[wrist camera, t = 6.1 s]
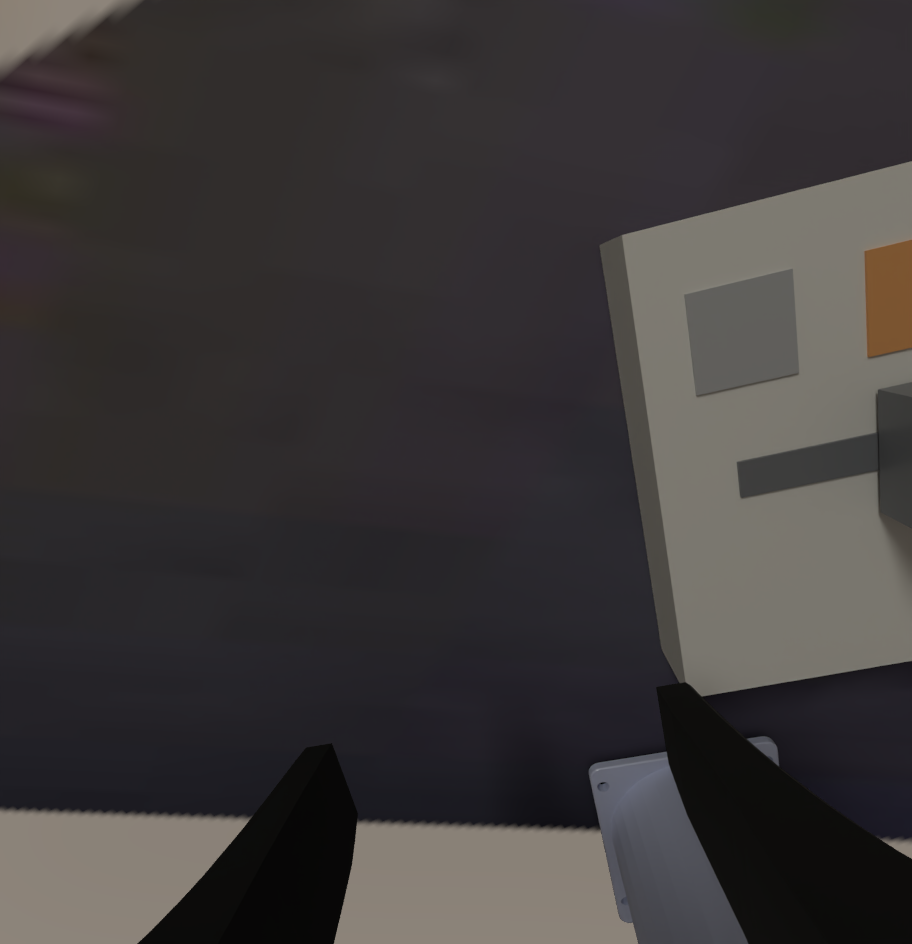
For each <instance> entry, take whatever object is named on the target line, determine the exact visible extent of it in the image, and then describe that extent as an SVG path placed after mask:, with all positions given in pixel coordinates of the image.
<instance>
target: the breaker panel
mask: <svg viewBox="0 0 912 944" xmlns="http://www.w3.org/2000/svg"><path fill="white" fill-rule="evenodd" d="M599 246H600V252H601V259H602V265H603V272H604V278H605V285H606V291H607V298H608V304H609V311H610V317H611V324H612V330H613V337H614V343H615V350H616V356H617V363H618V369H619V376H620V382H621V389H622V395H623V402H624V408H625V415H626V421H627V428H628V434H629V441H630V447H631V454H632V460H633V467H634V473H635V480H636V486H637V493H638V499H639V506H640V512H641V519H642V525H643V532H644V538H645V545H646V551H647V558H648V564H649V571H650V577H651V584H652V590H653V596H654V603H655V609H656V616H657V622H658V629H659V635H660V642H661V648H662V651H663V653H664V655H665V657H666V658H667V660H668V662H669V664H670V666H671V668H672V670H673V672H674V673H675V675H676V677H677V679H678V681H679V683H684V682H686V683H688V684H689V685H691V686H692V687H693V688H694V689H695V690H696V691H697V692H698V693H699V694H700V695H701V696H707V695H713V694H719V693H725V692H731V691H737V690H743V689H749V688H755V687H760V686H766V685H772V684H778V683H784V682H790V681H796V680H802V679H807V678H813V677H819V676H825V675H831V674H837V673H843V672H849V671H855V670H860V669H866V668H872V667H878V666H884V665H890V664H896V663H902V662H907V661H912V528H910V527H908V526H906V525H904V524H902V523H900V522H898V521H896V520H894V519H893V518H891V517H889V516H887V515H885V514H883V513H881V512H880V469H879V424H878V389H882V388H887V387H891V386H896V385H901V384H905V383H910V382H912V161H911V162H908V163H904V164H900V165H896V166H892V167H888V168H884V169H880V170H876V171H872V172H868V173H864V174H860V175H856V176H853V177H849V178H845V179H841V180H837V181H833V182H829V183H825V184H821V185H817V186H813V187H809V188H805V189H802V190H798V191H794V192H790V193H786V194H782V195H778V196H774V197H770V198H766V199H762V200H758V201H754V202H751V203H747V204H743V205H739V206H735V207H731V208H727V209H723V210H719V211H715V212H711V213H707V214H703V215H699V216H696V217H692V218H688V219H684V220H680V221H676V222H672V223H668V224H664V225H660V226H656V227H652V228H648V229H645V230H641V231H637V232H633V233H629V234H625V235H621V236H619V237H617V238H615V239H612V240H610V241H608V242H606V243H603V244H601V245H599Z"/></svg>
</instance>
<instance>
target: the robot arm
mask: <svg viewBox="0 0 912 944" xmlns="http://www.w3.org/2000/svg"><path fill="white" fill-rule="evenodd" d="M656 689H657V695H658V701H659V707H660V713H661V720H662V726H663V732H664V738H665V744H666V751H667V752H662V753H655V754H649V755H643V756H637V757H631V758H624V759H618V760H612V761H606V762H600V763H596V764H593V765H592V766H591V767H590V769H589V777H590V782H591V787H592V791H593V796H594V801H595V805H596V810H597V815H598V820H599V824H600V829H601V834H602V838H603V843H604V848H605V852H606V857H607V861H608V867H609V871H610V876H611V880H612V885H613V890H614V895H615V899H616V904H617V909H618V913H619V917H620V919H621V920H623V921H624V922H627V923H632V922H633V924H634V928H635V932H636V936H637V940H638V944H912V859H911V858H909V857H907V856H906V855H904V854H902V853H901V852H899V851H897V850H895V849H894V848H893V847H891V846H889V845H888V844H886V843H885V842H883V841H882V840H880V839H879V838H877V837H876V836H874V835H872V834H871V833H869V832H868V831H866V830H865V829H863V828H862V827H860V826H859V825H857V824H856V823H854V822H853V821H852V820H850V819H849V818H847V817H846V816H844V815H843V814H841V813H840V812H838V811H837V810H836V809H834V808H833V807H831V806H830V805H829V804H827V803H826V802H824V801H823V800H822V799H820V798H819V797H818V796H816V795H815V794H814V793H812V792H811V791H810V790H808V789H807V788H806V787H805V786H803V785H802V784H801V783H799V782H798V781H797V780H796V779H794V778H793V777H792V776H790V775H789V774H788V773H787V772H785V771H784V770H783V769H782V768H780V767H779V759H778V749H777V746H776V745H775V743H774V742H773V740H772V739H771V738H769V737H766V736H761V737H755V738H748V739H746V738H745V737H744V736H743V735H742V734H741V733H739V732H738V731H737V730H736V729H735V728H734V727H733V726H732V725H731V724H730V723H729V722H727V721H726V720H725V719H724V718H723V717H722V716H721V715H720V714H719V713H718V712H717V711H716V710H715V709H714V708H713V707H712V706H711V705H710V704H709V703H708V702H707V701H706V700H705V699H704V698H703V697H702V696H701V695H700V694H699V693H698V692H697V691H696V690H695V689H694V688H693V687H692V686H691V685H689V684H688V683H686V682H684V683H678V684H672V685H666V686H661V687H656ZM602 782H606V783H604V784H599V783H602ZM357 816H358V813H357V810H356V807H355V805H354V802H353V799H352V797H351V794H350V791H349V788H348V786H347V783H346V780H345V778H344V775H343V772H342V770H341V767H340V764H339V761H338V759H337V756H336V753H335V751H334V748H333V745H332V743H331V744H325V745H320V746H314V747H308V748H306V749H305V750H304V751H303V752H302V754H301V755H300V756H299V757H298V759H297V760H296V761H295V762H294V764H293V765H292V766H291V768H290V769H289V770H288V771H287V773H286V774H285V775H284V777H283V778H282V779H281V781H280V782H279V783H278V784H277V786H276V787H275V788H274V790H273V791H272V792H271V794H270V795H269V796H268V798H267V799H266V800H265V801H264V803H263V804H262V805H261V806H260V808H259V809H258V810H257V812H256V813H255V814H254V815H253V817H252V818H251V819H250V820H249V822H248V823H247V824H246V826H245V827H244V828H243V829H242V831H241V832H240V833H239V834H238V835H237V837H236V838H235V839H234V840H233V841H232V843H231V844H230V845H229V846H228V847H227V848H226V850H225V851H224V852H223V853H222V854H221V855H220V857H219V858H218V859H217V860H216V861H215V863H214V864H213V865H212V866H211V867H210V868H209V870H208V871H207V872H206V873H205V875H204V876H203V877H202V878H201V879H200V880H199V881H198V882H197V883H196V885H195V886H194V887H193V888H192V889H191V890H190V891H189V892H188V893H187V894H186V895H185V896H184V897H183V899H182V900H181V901H180V902H179V903H178V904H177V905H176V906H175V907H174V908H173V909H172V910H171V911H170V912H169V913H168V914H167V915H166V916H165V917H164V918H163V919H162V920H161V921H160V922H159V924H157V925H156V926H155V927H154V928H153V929H152V931H150V932H149V933H148V934H147V935H146V936H145V937H144V938H143V939H142V940H141V941H140V942H139V943H138V944H334V940H335V936H336V932H337V927H338V923H339V919H340V915H341V910H342V906H343V902H344V897H345V893H346V889H347V884H348V880H349V875H350V870H351V866H352V859H353V852H354V844H355V834H356V825H357Z"/></svg>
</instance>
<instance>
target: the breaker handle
mask: <svg viewBox="0 0 912 944" xmlns="http://www.w3.org/2000/svg"><path fill="white" fill-rule="evenodd" d="M878 424H879V469H880V512H881V513H883V514H885V515H887V516H889V517H891V518H893V519H894V520H896V521H898V522H900V523H902V524H904V525H906V526H908V527H910V528H912V382H910V383H905V384H901V385H896V386H891V387H887V388H882V389H878Z"/></svg>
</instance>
